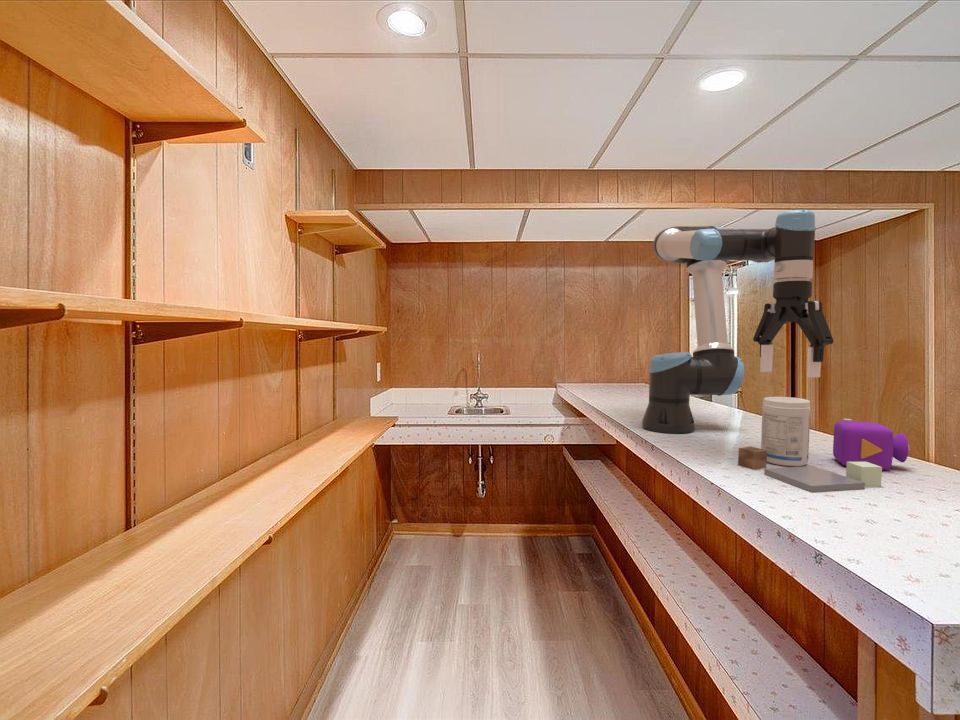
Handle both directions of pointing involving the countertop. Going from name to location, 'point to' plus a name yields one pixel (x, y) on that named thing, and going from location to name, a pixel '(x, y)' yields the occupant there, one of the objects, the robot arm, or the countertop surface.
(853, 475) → the pale green cube
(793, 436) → the supplement tub
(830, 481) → the slate coaster
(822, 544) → the countertop surface
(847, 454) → the toy camera
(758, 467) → the walnut block
